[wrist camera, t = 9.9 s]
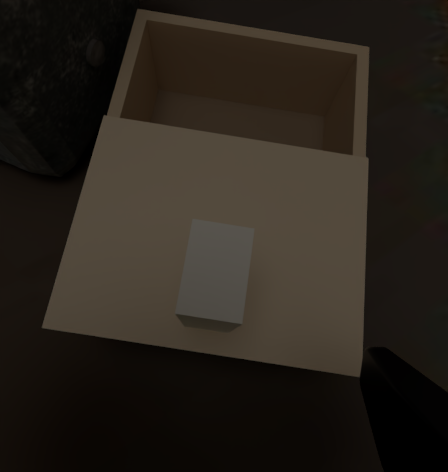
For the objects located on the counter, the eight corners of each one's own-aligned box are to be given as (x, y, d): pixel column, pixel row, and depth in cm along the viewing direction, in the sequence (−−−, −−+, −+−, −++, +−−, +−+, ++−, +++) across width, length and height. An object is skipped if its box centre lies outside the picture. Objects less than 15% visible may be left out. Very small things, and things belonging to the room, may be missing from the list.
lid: (355, 376, 14) (452, 392, 8) (48, 328, 14) (-51, 315, 8) (362, 164, 16) (440, 75, 11) (107, 123, 16) (61, 13, 11)
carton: (322, 244, 22) (364, 208, 16) (120, 212, 21) (92, 164, 16) (331, 115, 24) (369, 47, 19) (152, 86, 24) (137, 8, 19)
